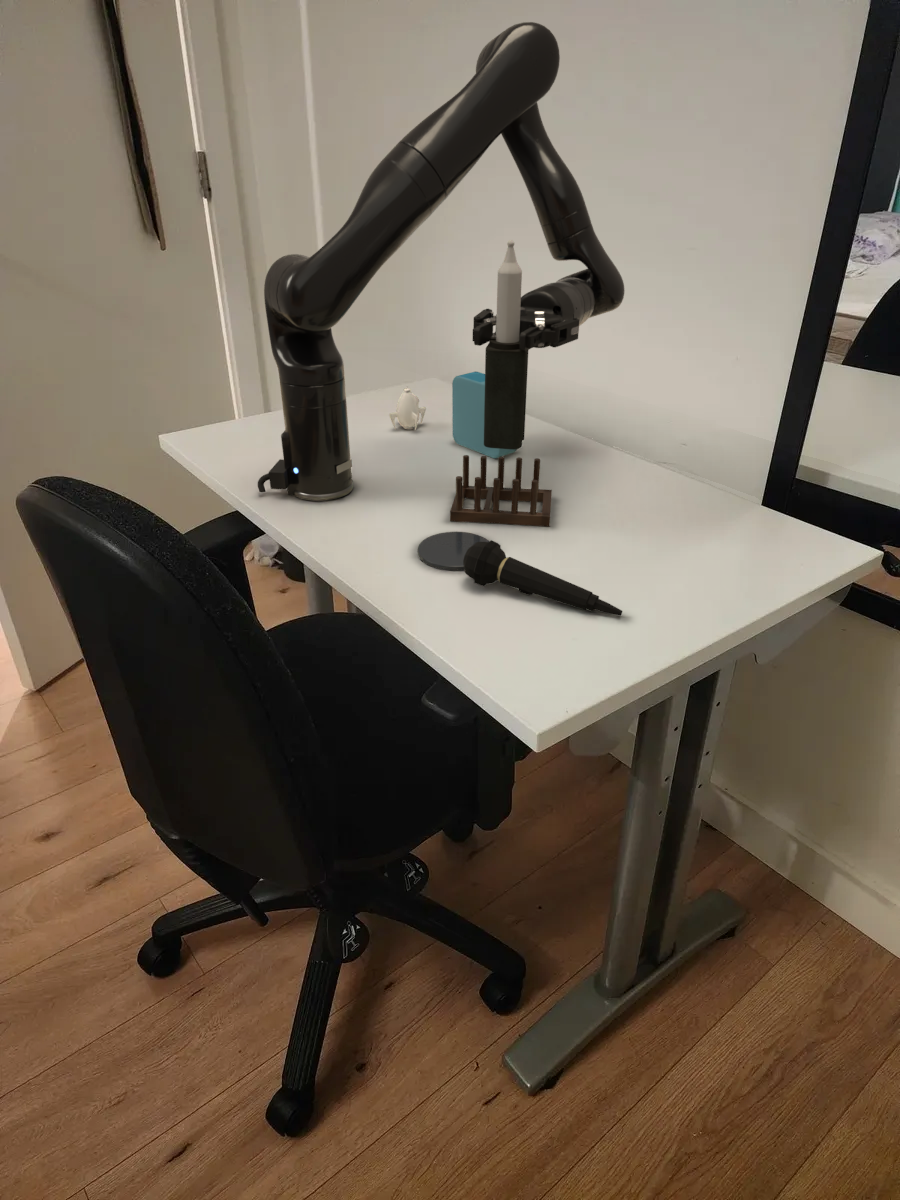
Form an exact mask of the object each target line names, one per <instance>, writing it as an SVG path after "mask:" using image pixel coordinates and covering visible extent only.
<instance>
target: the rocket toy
mask: <svg viewBox="0 0 900 1200" xmlns="http://www.w3.org/2000/svg"><path fill="white" fill-rule="evenodd" d="M419 403H420V398H419V397H418V396H417V395H415V394H414V393H413V392H412V391H411V388H408V387H406V388H404V389H403V392H402V393H401V394H400V396H399V398H398V400H397V404H396V410H395V411H394V412H390V413H389V414H388V416H389V419H390V421H391V423H392V426H393V428H394V430H397V427H396V422H395V419H397V422H398V423H399V425H400V426H402V427H403V429H404V430H412V429H414V431H416V430H417V426H418V422H419V420H420V423H419V424H420V425H422V423H423V421H424V418H425V415H426V411H427V406H422V407H419ZM420 415H421V417H420Z"/></svg>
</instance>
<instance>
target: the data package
mask: <svg viewBox="0 0 900 1200" xmlns="http://www.w3.org/2000/svg"><path fill="white" fill-rule="evenodd" d="M451 384H452V385H451V386H452V387H451V389H452V395H451V397H452V399H451V401H452V403H451V404H452V413H451V415H452V417H451V418H452V419H451V421H452V427H451V428H452V438H453V440H454V442H455V443H456V444H457V445H459V446H462V447H464V448H466V449H468V450H471V451H474V452H477V453H479V454H481V455H483V456H486V457H489V458H492V459H498V458H499V457H505V456H508V455H511V454H513V453H516V452H517V450H518V449H498V448H488V447H485V446H484V405H485V373H483V372H480V371H472V372H467V373H463V374H459V375H456V376H454V377H453V379H452V383H451Z"/></svg>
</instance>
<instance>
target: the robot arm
mask: <svg viewBox="0 0 900 1200" xmlns="http://www.w3.org/2000/svg"><path fill="white" fill-rule="evenodd" d="M560 55H561V54H560V47H559V44H558V40H557V38H556V36H555V34H553V32H552V31H551V30H550V29H549V28H547V27H546V26H545V25H544V24H541V23H538V22H534V21H527V22H526V21H525V22H524V21H523V22H520V23H514V24H513V25H511V26H509V27H508V28H506V29H505V30H503V31H502V32H500V33H499V34H498V35H497V36H495V37H494V38H493V39H491V40H490V41H489V42H487V43H486V44H485V45H484V46H483V48H482V50H481V51H480V53H479V55H478V58H477V60H476V65H475V74H474V75H473V76H472V78H471V79H470V80H469V81H468V82H467V83H466V84H465V86H464V87H462V89H461V90H459V91H458V92H457V93H456V94H454V96H453V97H451V98H450V99H449V100H447V101H446V102H445V103H443V104H442V105H441V106H439V107H438V108H437V109H435V110H434V111H432V112H431V113H430V114H429V115H427V117H425V118H424V119H423V120H422V121H420V122H419V123H418V124H417V125H415V126H414V128H412V129H411V130H410V131H409V132H408V133H407V134H406V135H405V136H404V137H402V139H400V140H399V141H398V142H397V143H396V144H395V146H394V147H393V148H392V149H390V151H389V152H388V153H387V154H386V155H385V156H384V157H383V158H382V160H380V162H379V163H378V164H377V165H376V167H375V168H374V169H373V171H372V172H371V173H370V175H369V176H368V178H367V180H366V182H365V183H364V186H363V188H362V189H361V192H360V193H359V196H358V199H357V201H356V203H355V205H354V207H353V210H352V211H351V213H350V215H349V216H348V219H347V220H346V221H345V223H344V224H343V225H342V227H340V229H339V230H338V231H337V232H336V233H335V234H334V235H332V236H331V238H330V239H329V240H328V241H327V242H325V244H324V245H322V247H321V248H319V249H318V250H317V251H316V252H315V253H313V254H312V255H310V256H308V255H304V254H298V253H292V254H286V255H283V256H281V257H279V258H278V259H276V260H275V261H274V262H273V263H272V264H271V265H270V268H269V269H268V270H267V273H266V276H265V279H264V286H263V299H264V307H265V316H266V323H267V328H268V329H267V330H268V335H269V342H270V349H271V353H272V356H273V360H274V361H275V364H276V367H277V371H278V380H279V388H280V397H281V406H282V413H283V422H284V431H283V432H282V433H281V435H280V439H281V448H282V457H283V459H278V461H276V463H275V464H274V465H273V467H271V469H270V470H269V471H268V473H264V474H263V475H262V476H260V477H259V478H258V480H257V489H258V492H259V493H265V492H266V488H265V483H266V482H267V481H269V487H270V489H271V490H282V491H283V490H287V491H286V492H287V496H294V497H296V498H298V499H302V500H305V501H312V502H313V501H315V502H321V501H322V502H324V501H331V500H337V499H340V498H342V497H345V496H347V495H349V494H350V493H351V492H352V491H353V489H354V480H353V473H352V468H353V460H352V459H351V446H350V435H349V434H350V433H349V419H348V417H349V416H348V403H347V392H346V378H345V363H344V359H343V356H342V354H341V352H340V351H339V348H338V347H337V345H336V342H335V340H334V336H333V331H332V328H333V327H334V326H336V325H338V323H339V322H340V321H341V320H342V319H343V318H344V316H345V315H346V314H347V312H349V310H350V309H351V307H352V306H353V304H354V303H355V302H356V300H357V299H358V298H359V296H360V295H361V293H363V291H364V290H365V288H366V287H367V286H368V285H369V283H370V282H371V280H372V279H373V278H374V276H375V275H376V274H377V273H378V271H379V270H380V269H381V268H382V267H383V265H385V264H386V262H387V261H388V260H390V258H391V257H392V256H393V255H394V254H395V253H396V252H397V251H398V250H400V248H401V247H402V246H403V245H404V244H405V243H406V242H407V240H409V239H410V237H411V236H412V235H413V234H414V233H415V232H416V231H417V230H418V229H419V228H420V227H421V226H422V225H423V224H424V223H425V222H426V221H427V220H428V219H429V218H430V217H431V216H432V215H433V214H434V212H435V211H437V209H438V208H439V207H440V206H441V205H442V204H443V203H444V202H445V201H446V200H447V199H448V197H449V196H450V195H451V194H452V193H453V192H454V191H455V189H456V188H457V187H458V185H460V183H461V182H462V181H463V180H464V179H465V178H466V177H467V175H468V174H469V173H470V171H472V169H473V168H474V167H475V166H476V164H477V163H478V162H479V160H480V159H481V158H482V157H483V155H484V154H485V153H486V152H487V150H488V149H489V148H490V146H491V145H492V144H493V143H494V142H495V140H496V139H497V138H498V137H500V135H501V136H502V138H503V140H504V143H505V145H506V146H507V149H508V151H509V153H510V155H511V157H512V159H513V161H514V163H515V165H516V167H517V169H518V172H519V173H520V176H521V178H522V180H523V183H524V184H525V188H526V190H527V192H528V194H529V197H530V199H531V203H532V205H533V207H534V210H535V212H536V216H537V219H538V222H539V225H540V228H541V231H542V233H543V236H544V239H545V243H546V246H547V248H548V251H549V253H550V256H551V257H552V259H553V260H555V261H557V262H566V261H579V262H580V263H581V264H583V265H584V266H585V267H586V268H585V269H582V270H579V271H577V272H574V273H571V274H569V275H566V276H564V277H561V278H559V279H558V280H556V281H555V282H550V283H546V284H544V285H542V286H539V287H537V288H535V289H533V290H530V291H528V292H526V293H524V294H523V295H521V307H520V331H519V337H520V347H519V348H520V351H528V352H529V350H531V349H533V348H535V349H545V348H549V347H550V348H551V347H552V348H558V347H560V346H563V345H566V344H569V343H572V342H574V341H577V340H578V339H579V332H580V326H582V325H583V324H585V322H587V321H588V320H589V319H591V318H594V317H597V316H600V315H603V314H606V313H610V312H612V311H615V310H617V309H618V308H619V307H620V306H621V305H622V303H623V301H624V297H625V291H626V290H625V282H624V280H623V277H622V275H621V273H620V271H619V270H618V268H617V266H616V265H615V263H614V262H613V260H612V259H611V257H610V256H609V254H608V253H607V252H606V250H605V248H604V246H603V245H602V243H601V241H600V239H599V238H598V236H597V234H596V231H595V229H594V226H593V223H592V220H591V217H590V214H589V210H588V208H587V204H586V201H585V198H584V196H583V193H582V191H581V188H580V186H579V184H578V182H577V180H576V178H575V177H574V174H572V171H571V170H570V169H569V167H568V166H567V165H566V163H565V162H564V160H563V159H562V157H561V156H560V154H559V153H558V152H557V150H556V148H555V146H554V145H553V143H552V140H551V139H550V137H549V135H548V132H547V131H546V129H545V126H544V123H543V120H542V117H541V113H540V109H539V105H538V102H539V101H540V100H542V99H543V98H544V97H545V96H546V95H547V94H548V93H549V92H550V90H551V89H552V87H553V85H554V83H555V81H556V79H557V76H558V72H559V68H560V59H561V56H560ZM496 321H497V313H496V314H495V315H494V311H493V309H491V308H486V309H482V310H481V311H480V312H479V313H477V314H476V315H475V316H473V327H472V342H473V344H474V346H478V347H479V346H482V345H485V344H487V343H489V340H490V339H491V338H493V337H496V330H495V331H494V326H495V327H496Z"/></svg>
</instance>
